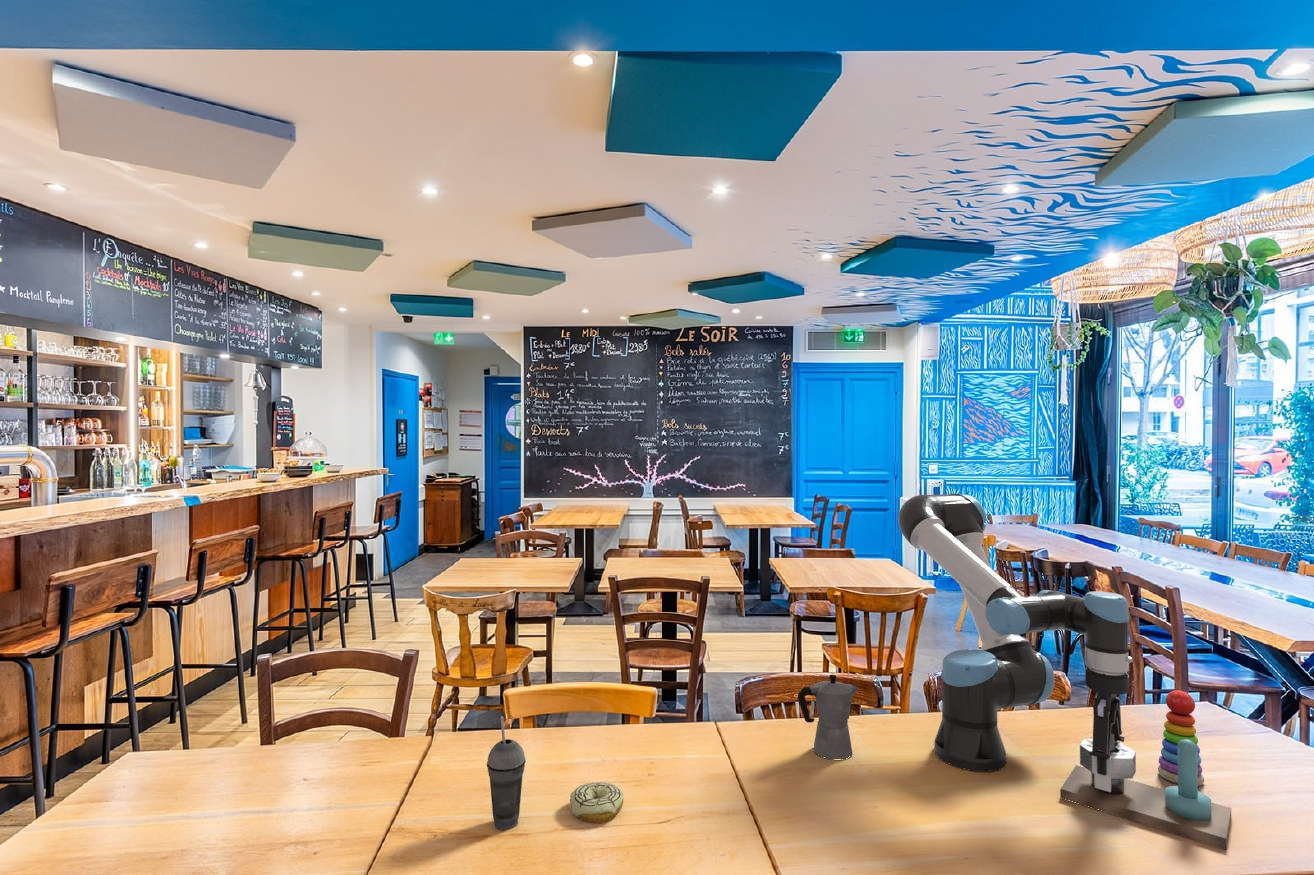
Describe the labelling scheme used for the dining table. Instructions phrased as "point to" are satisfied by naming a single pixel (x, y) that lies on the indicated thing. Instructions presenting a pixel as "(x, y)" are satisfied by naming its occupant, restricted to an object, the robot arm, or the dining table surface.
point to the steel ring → (1120, 760)
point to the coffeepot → (830, 717)
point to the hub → (1188, 787)
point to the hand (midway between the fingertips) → (1107, 780)
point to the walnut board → (1147, 808)
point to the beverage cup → (506, 781)
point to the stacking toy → (1177, 734)
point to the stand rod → (1116, 784)
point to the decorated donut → (596, 802)
